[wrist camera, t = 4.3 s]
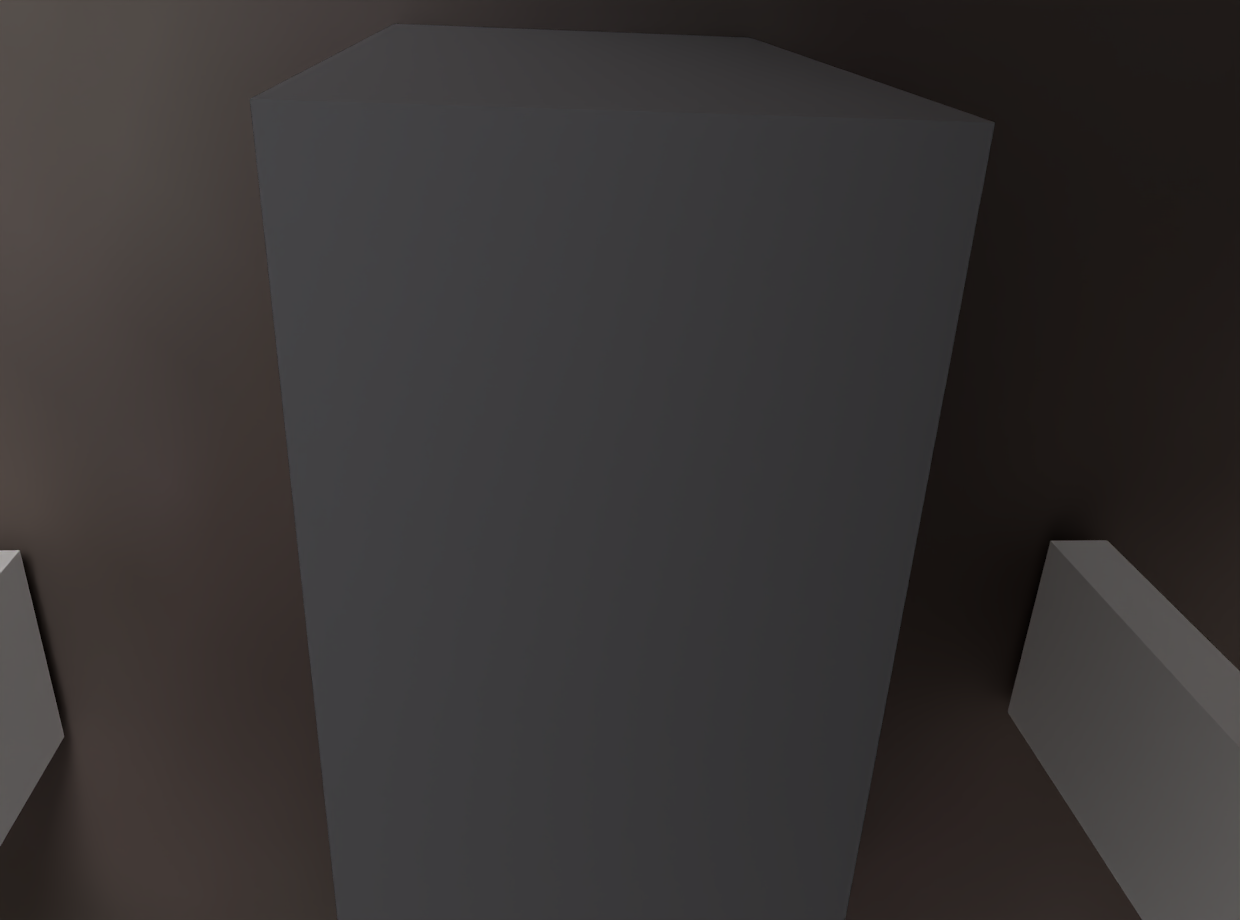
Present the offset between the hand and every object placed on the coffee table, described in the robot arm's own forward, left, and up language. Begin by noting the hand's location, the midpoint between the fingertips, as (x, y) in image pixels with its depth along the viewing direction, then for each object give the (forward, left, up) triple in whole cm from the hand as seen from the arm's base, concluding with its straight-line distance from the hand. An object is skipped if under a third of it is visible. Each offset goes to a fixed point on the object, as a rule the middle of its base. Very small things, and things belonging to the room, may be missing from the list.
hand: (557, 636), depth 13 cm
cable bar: (0, 0, 0) cm, 0 cm away
